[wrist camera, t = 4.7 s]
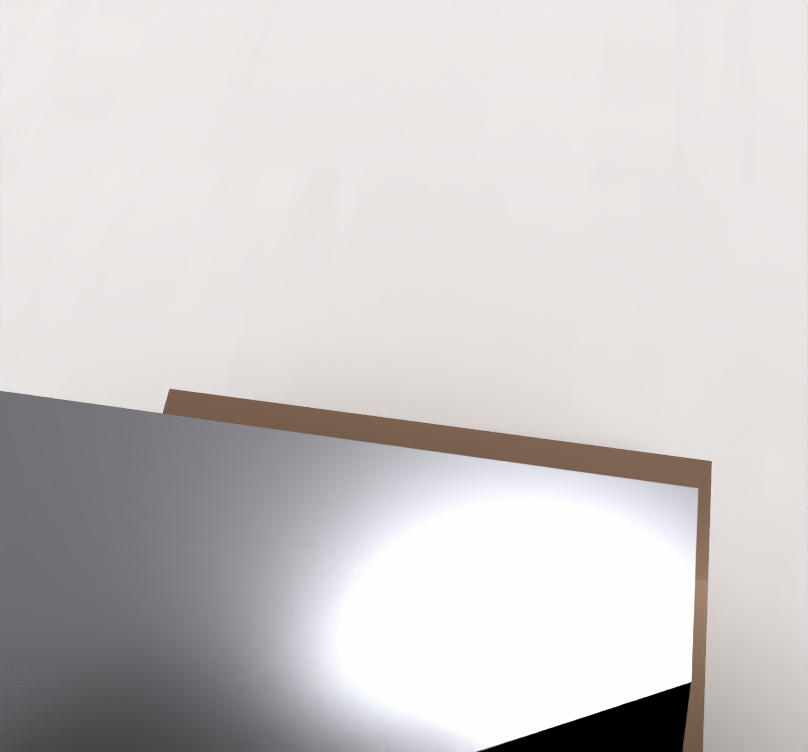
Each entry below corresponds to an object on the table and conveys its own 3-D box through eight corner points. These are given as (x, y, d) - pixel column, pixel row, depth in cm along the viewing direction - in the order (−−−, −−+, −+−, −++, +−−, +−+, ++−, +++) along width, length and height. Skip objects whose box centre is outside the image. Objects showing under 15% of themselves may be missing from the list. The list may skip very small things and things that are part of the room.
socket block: (624, 1038, 12) (687, 1224, 8) (129, 910, 13) (-12, 1018, 10) (654, 504, 15) (711, 461, 11) (243, 444, 16) (169, 389, 12)
